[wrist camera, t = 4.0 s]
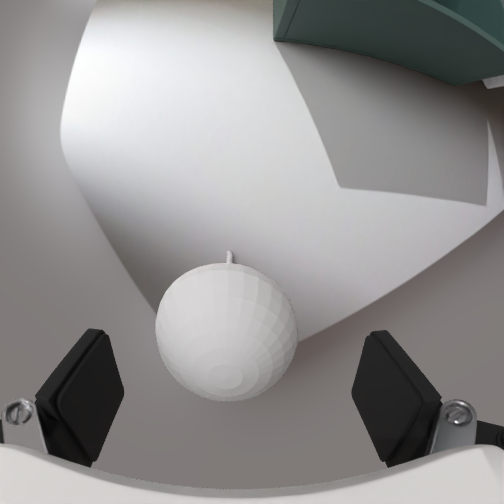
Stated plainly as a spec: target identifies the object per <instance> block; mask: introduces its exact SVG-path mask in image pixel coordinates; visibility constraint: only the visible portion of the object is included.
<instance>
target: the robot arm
mask: <svg viewBox="0 0 504 504" xmlns="http://www.w3.org/2000/svg"><path fill="white" fill-rule="evenodd" d="M35 397H36V399H37V400H36V401H35V403H33V402H32V401H31V400H29V399H26V398H17V399H14V400H12V401H10V402H9V403H7V404H6V406H5V407H4V408H3V411H2V419H1V420H0V504H504V427H503V426H499V425H494V424H490V423H486V422H482V421H478V420H477V415H476V411H475V409H474V408H473V407H472V406H471V405H470V404H469V403H467V402H465V401H463V400H457V399H453V400H449V401H447V402H445V403H444V404H442V402H441V401H440V399H441V398H442V397H441V396H440V394H439V393H438V392H437V391H436V389H435V388H434V387H433V385H432V384H431V383H430V382H429V380H428V379H427V378H426V377H425V375H424V374H423V373H422V372H421V371H420V369H419V368H418V367H417V366H416V364H415V363H414V362H413V361H412V360H411V358H410V357H409V356H408V355H407V353H406V352H405V351H404V350H403V349H402V347H401V346H400V345H399V344H398V343H397V342H396V341H395V339H394V338H393V337H392V336H391V335H390V333H389V332H388V331H386V330H381V331H373V332H371V333H370V335H369V336H367V337H366V339H365V343H364V347H363V351H362V355H361V359H360V362H359V366H358V370H357V373H356V377H355V380H354V384H353V387H352V398H353V400H354V403H355V405H356V407H357V409H358V411H359V413H360V415H361V418H362V420H363V422H364V424H365V426H366V429H367V431H368V433H369V435H370V437H371V440H372V442H373V444H374V447H375V449H376V451H377V453H378V456H379V458H380V460H381V461H382V462H384V461H385V462H386V465H387V467H388V468H387V469H383V470H379V471H375V472H372V473H367V474H364V475H359V476H355V477H351V478H346V479H341V480H336V481H330V482H325V483H318V484H310V485H303V486H293V487H283V488H270V489H208V488H195V487H185V486H175V485H168V484H161V483H154V482H148V481H143V480H138V479H133V478H128V477H123V476H119V475H115V474H111V473H107V472H103V471H100V470H96V469H92V468H91V465H92V463H93V461H94V462H95V461H96V460H97V459H98V457H99V454H100V452H101V449H102V447H103V444H104V442H105V439H106V437H107V434H108V432H109V429H110V427H111V425H112V422H113V420H114V418H115V415H116V413H117V411H118V408H119V406H120V404H121V401H122V399H123V397H124V388H123V385H122V381H121V378H120V375H119V372H118V368H117V365H116V361H115V358H114V354H113V350H112V346H111V342H110V338H109V336H108V335H107V334H105V332H104V331H103V330H98V329H88V330H87V331H86V332H85V333H84V334H83V336H82V337H81V338H80V339H79V340H78V342H77V343H76V344H75V345H74V346H73V348H72V349H71V350H70V351H69V353H68V354H67V355H66V356H65V357H64V359H63V360H62V361H61V362H60V364H59V365H58V367H57V368H56V369H55V370H54V371H53V373H52V374H51V375H50V377H49V378H48V379H47V380H46V382H45V383H44V384H43V386H42V387H41V388H40V390H39V391H38V392H37V394H36V395H35ZM79 464H80V465H79ZM399 464H400V465H399ZM82 465H83V466H82ZM396 465H397V466H396ZM389 467H390V468H389Z"/></svg>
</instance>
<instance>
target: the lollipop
mask: <svg viewBox="0 0 504 504" xmlns="http://www.w3.org/2000/svg"><path fill="white" fill-rule="evenodd" d="M232 261H233V253H232V251H228V252H227V259H226V263H217V264H209V265H205V266H200V267H197V268H195V269H193V270H191V271H189V272H186V273H185V274H183V275H182V276H181V277H179V278H178V279H177V280H175V281H174V282H173V283H172V285H171V286H170V287H169V288H168V290H167V291H166V292H165V294H164V296H163V298H162V300H161V302H160V305H159V309H158V313H157V318H156V339H157V344H158V349H159V353H160V356H161V358H162V360H163V362H164V364H165V366H166V368H167V369H168V371H169V372H170V374H171V375H172V376H173V377H174V379H175V380H177V381H178V382H179V383H180V384H181V385H182V386H183V387H185V388H186V389H188V390H189V391H191V392H192V393H194V394H196V395H198V396H201V397H203V398H205V399H209V400H213V401H220V402H237V401H242V400H247V399H249V398H253V397H255V396H257V395H259V394H261V393H263V392H265V391H266V390H268V389H269V388H271V387H272V386H273V385H274V384H276V383H277V382H278V381H279V380H280V378H281V377H282V376H283V375H284V373H285V372H286V370H287V369H288V367H289V365H290V363H291V362H292V360H293V357H294V354H295V350H296V346H297V343H298V328H297V323H296V318H295V313H294V310H293V307H292V305H291V303H290V300H289V299H288V297H287V296H286V294H285V293H284V292H283V290H282V289H281V288H280V286H279V285H278V284H277V283H275V282H274V281H273V280H272V279H271V278H270V277H269V276H267V275H265V274H263V273H262V272H260V271H258V270H256V269H253V268H250V267H247V266H244V265H240V264H233V263H232Z"/></svg>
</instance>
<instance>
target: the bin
mask: <svg viewBox="0 0 504 504" xmlns="http://www.w3.org/2000/svg"><path fill="white" fill-rule="evenodd" d="M273 40H274V41H285V42H294V43H303V44H310V45H317V46H323V47H328V48H334V49H339V50H344V51H349V52H353V53H358V54H362V55H366V56H370V57H374V58H377V59H381V60H384V61H388V62H391V63H395V64H398V65H401V66H404V67H407V68H410V69H413V70H416V71H418V72H421V73H424V74H426V75H429V76H432V77H434V78H437V79H439V80H441V81H444V82H446V83H448V84H451V85H453V86H459V85H463V84H467V83H471V82H475V81H479V80H483V79H487V78H492V77H496V76H501V75H504V0H273Z"/></svg>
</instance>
